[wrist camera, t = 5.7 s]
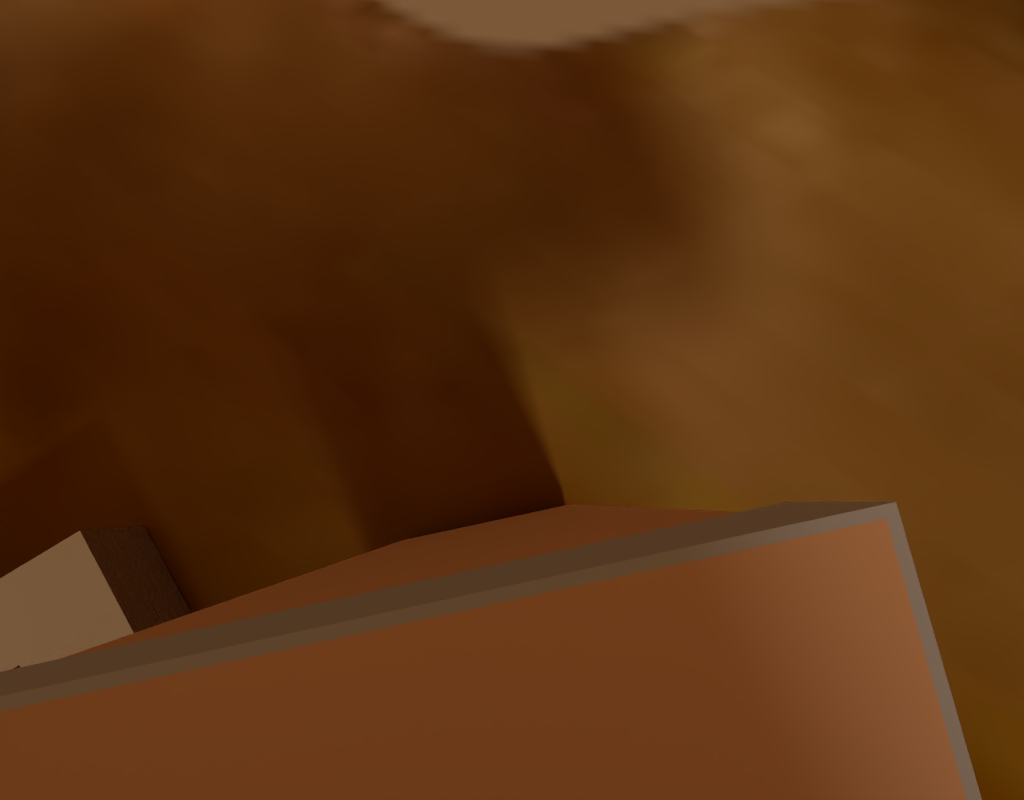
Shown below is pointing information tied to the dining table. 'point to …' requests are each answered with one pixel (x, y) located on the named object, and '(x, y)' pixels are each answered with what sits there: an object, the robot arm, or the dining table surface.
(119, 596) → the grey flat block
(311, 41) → the dining table surface
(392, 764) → the square peg
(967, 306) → the dining table surface
